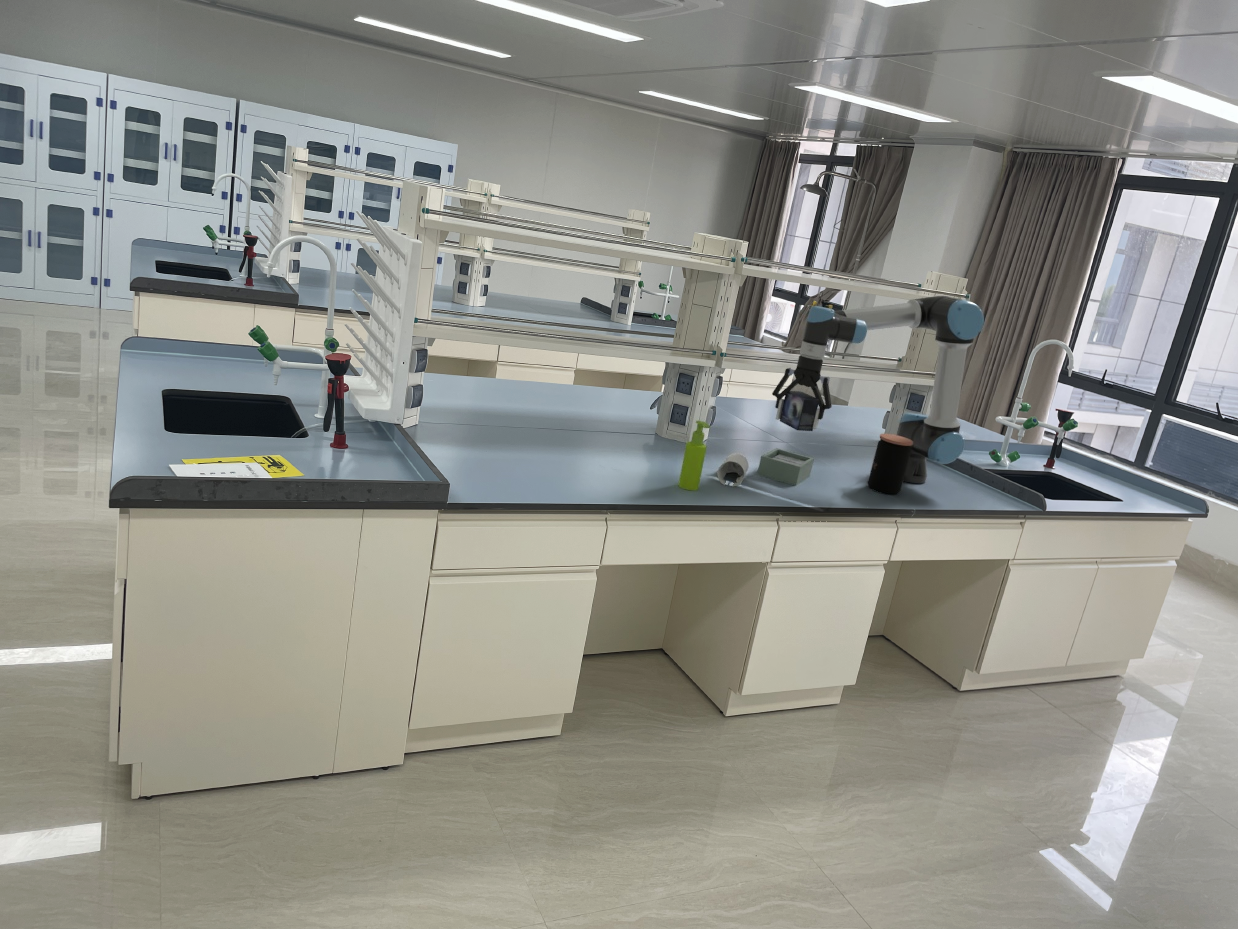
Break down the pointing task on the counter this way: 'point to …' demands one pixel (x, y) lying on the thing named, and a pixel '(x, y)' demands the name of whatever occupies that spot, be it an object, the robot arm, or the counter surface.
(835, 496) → the counter surface
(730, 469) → the white bottle
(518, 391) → the counter surface
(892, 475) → the coffee jar
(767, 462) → the box
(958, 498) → the counter surface
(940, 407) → the robot arm
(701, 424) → the soap dispenser
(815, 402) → the small box
